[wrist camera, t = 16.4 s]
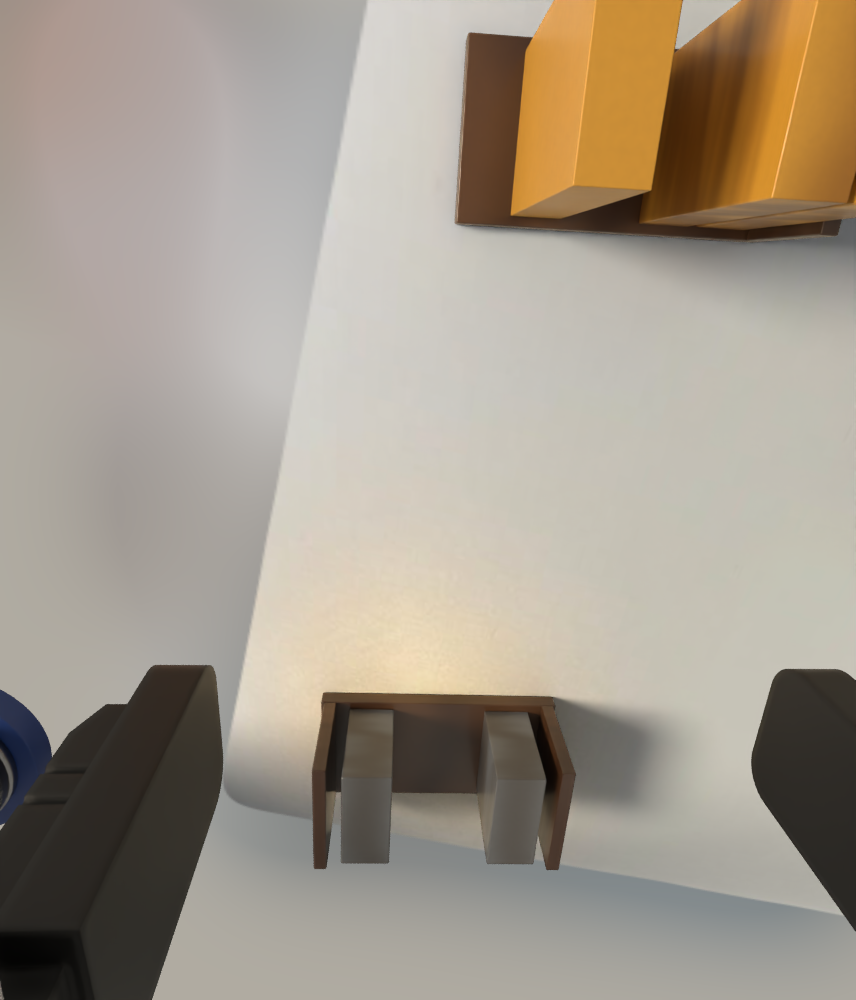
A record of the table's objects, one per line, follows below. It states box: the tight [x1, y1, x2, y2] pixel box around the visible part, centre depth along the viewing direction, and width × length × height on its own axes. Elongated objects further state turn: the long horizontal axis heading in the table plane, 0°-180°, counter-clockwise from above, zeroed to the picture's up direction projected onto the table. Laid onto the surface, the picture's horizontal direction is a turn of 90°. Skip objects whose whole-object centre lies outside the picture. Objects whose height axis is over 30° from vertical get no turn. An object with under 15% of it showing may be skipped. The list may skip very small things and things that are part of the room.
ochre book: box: [511, 0, 683, 219], centre depth 24 cm, size 3×7×12 cm, turn 177°
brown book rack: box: [312, 693, 576, 870], centre depth 40 cm, size 16×8×7 cm, turn 87°
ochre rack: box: [455, 0, 856, 243], centre depth 24 cm, size 16×8×13 cm, turn 87°
